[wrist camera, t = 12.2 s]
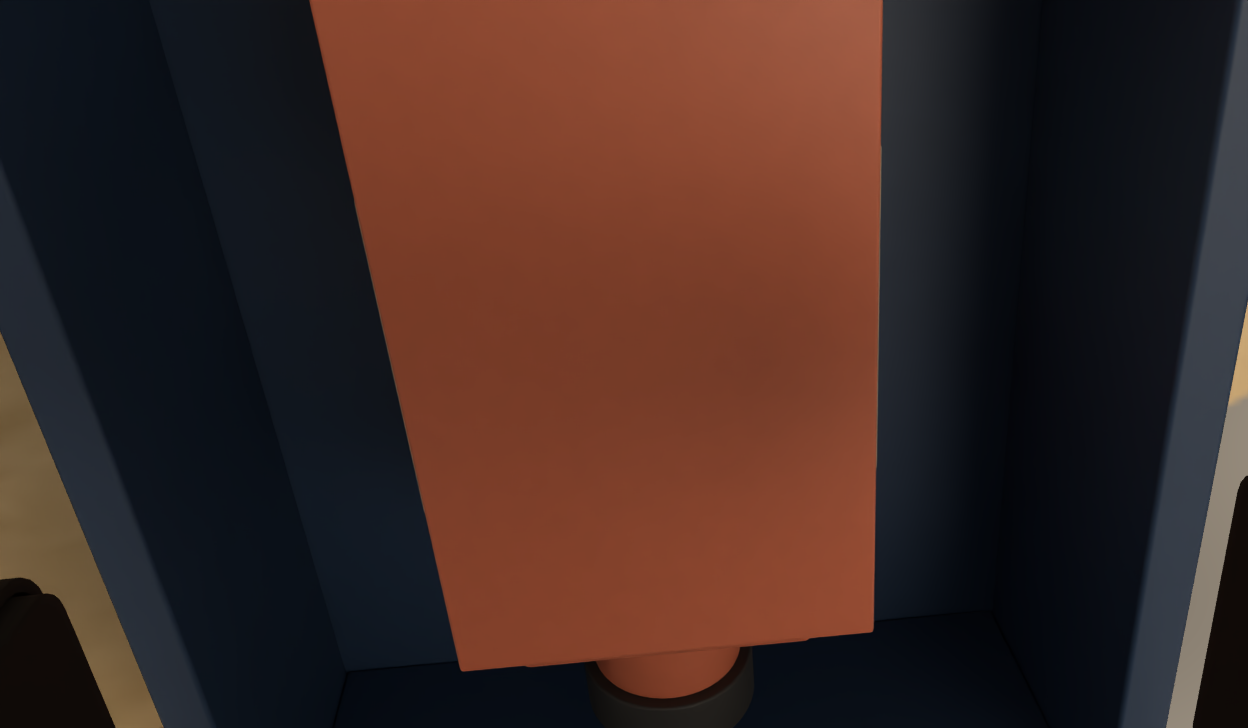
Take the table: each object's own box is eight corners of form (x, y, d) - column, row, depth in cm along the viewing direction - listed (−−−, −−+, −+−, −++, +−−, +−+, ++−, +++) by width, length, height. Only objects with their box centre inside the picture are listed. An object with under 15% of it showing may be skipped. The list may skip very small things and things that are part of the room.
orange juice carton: (394, -107, 16) (292, -54, 11) (783, -151, 16) (889, -119, 10) (521, 588, 22) (499, 854, 17) (801, 560, 22) (873, 819, 17)
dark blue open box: (39, -268, 16) (-265, -302, 10) (1106, -388, 16) (1404, -492, 10) (326, 674, 24) (249, 939, 19) (1013, 608, 24) (1143, 857, 19)
